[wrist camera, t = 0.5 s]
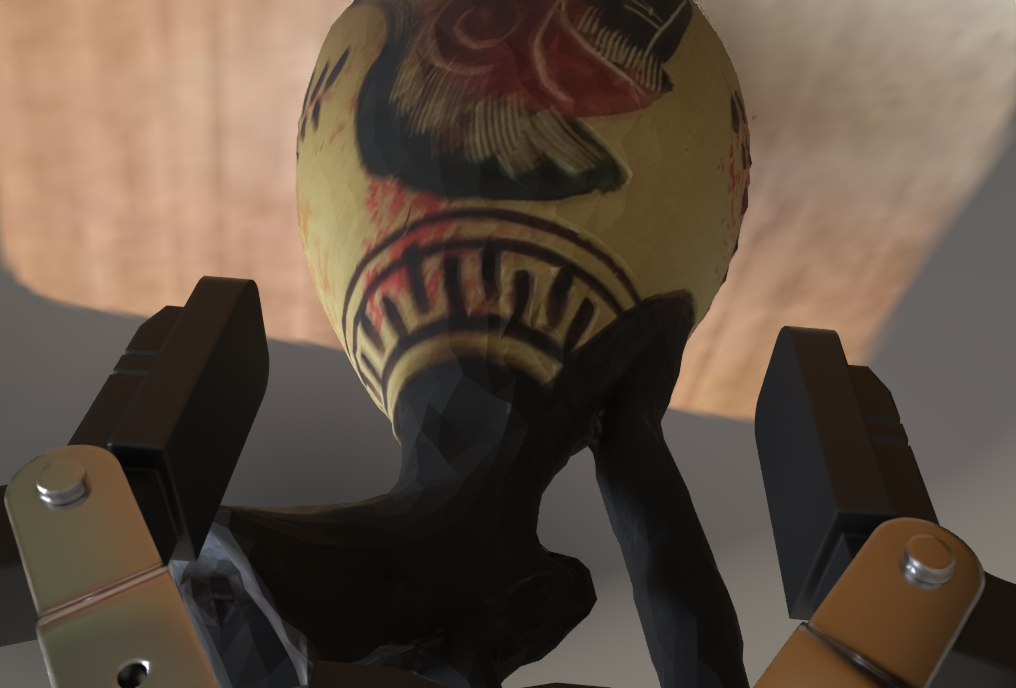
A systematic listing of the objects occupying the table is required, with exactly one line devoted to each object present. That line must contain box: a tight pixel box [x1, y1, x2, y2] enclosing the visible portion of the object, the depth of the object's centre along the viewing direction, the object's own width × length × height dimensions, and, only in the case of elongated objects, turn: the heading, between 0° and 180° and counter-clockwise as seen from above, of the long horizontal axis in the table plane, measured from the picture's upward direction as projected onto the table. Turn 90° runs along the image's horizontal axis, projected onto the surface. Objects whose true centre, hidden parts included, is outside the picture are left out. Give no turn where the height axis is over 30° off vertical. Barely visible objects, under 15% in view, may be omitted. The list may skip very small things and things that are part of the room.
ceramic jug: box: [167, 0, 756, 688], centre depth 26 cm, size 17×15×30 cm
